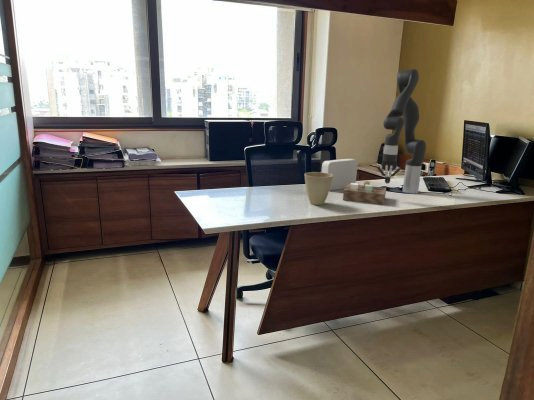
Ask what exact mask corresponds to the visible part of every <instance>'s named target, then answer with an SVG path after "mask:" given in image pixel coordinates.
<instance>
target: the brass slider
mask: <svg viewBox="0 0 534 400" xmlns="http://www.w3.org/2000/svg"><path fill="white" fill-rule="evenodd" d="M366 184H367V185H371V180H364V182H363V186H364V187H365V185H366Z"/></svg>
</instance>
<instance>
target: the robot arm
mask: <svg viewBox="0 0 534 400" xmlns="http://www.w3.org/2000/svg"><path fill="white" fill-rule="evenodd" d="M419 77H420V75H419V71H418V69H415V68H411V69H405V70H399V71H398V72H397V73H396V83H397V87H398V93H399V94H398V96H397V97H396V98H395V100H394V101H393V103H392V107H391V110H390V111H389V113H388V114H387V115H386V116H385V118H384V119H383V124H382V125H383V128H384V130H392V131H394V132H393V133H388V134H386V135H385V137H384V138H385V141H384V147H383V155H382V162H381V164H380V165H378V166H377V169H378V172H380V174H381V175H382V176H383V177H384V183H385V185H386V184H387V185H388V184H390V182H391V179H392V177H393V178H394V177H395V176H396V175H397V174H398V173H399V172H400V171H401V167H399V166H398V163H397V162H398V152H399V139H400V135H401V132H402V130H404V148H405V151H406V152H407V153H408V154H411V155H413V156H412V158H409V159H407V160H406V161H405V169H404V170H405V171H404V177H403V185H402V192H403V193H406V194H415V195H416V194H417V195H418V194H419V188H420V181H421V173H422V172H421V171H422V167H423V166H422V165H423V163H424V159H425V154H426V151H427V150H426V149H427V145H426V144H427V143H426V141H425V140H423V139H418V138H416V135H415V132H416V131H415V130H416V127H417V125H418V123H419V121H420V109H419V105H418V103H416V101H415V100H414V99H413V98H412V97H411V96H412V94H413V92H415V91H414V90H415V89H416V87H417V84H418V82H419V79H420V78H419ZM383 170H384V171H385V172H384V171H383ZM394 170H395V171H394ZM393 171H394V172H393ZM392 172H393V173H392Z"/></svg>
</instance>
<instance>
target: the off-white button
mask: <svg viewBox="0 0 534 400" xmlns="http://www.w3.org/2000/svg"><path fill="white" fill-rule="evenodd" d="M358 185H359V183H357V182H356V183H351V184H350V190H358Z"/></svg>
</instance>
